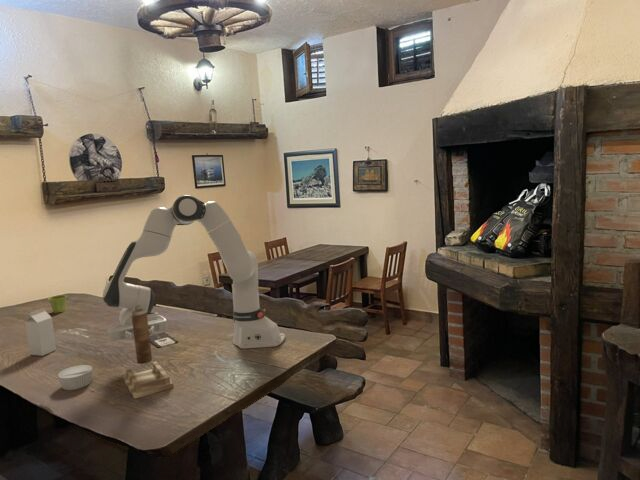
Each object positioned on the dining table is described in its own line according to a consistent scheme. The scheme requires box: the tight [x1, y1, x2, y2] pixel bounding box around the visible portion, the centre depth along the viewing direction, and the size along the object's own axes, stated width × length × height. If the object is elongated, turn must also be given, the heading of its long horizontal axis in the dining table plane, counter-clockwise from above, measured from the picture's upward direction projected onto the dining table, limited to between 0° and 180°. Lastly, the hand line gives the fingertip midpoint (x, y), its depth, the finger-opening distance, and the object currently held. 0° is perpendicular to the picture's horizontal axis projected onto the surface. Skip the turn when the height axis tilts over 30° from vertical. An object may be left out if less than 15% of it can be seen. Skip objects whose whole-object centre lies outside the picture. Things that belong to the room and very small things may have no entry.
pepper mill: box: [132, 305, 153, 365], centre depth 165 cm, size 5×5×20 cm
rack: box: [123, 361, 175, 399], centre depth 165 cm, size 18×13×4 cm
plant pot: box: [47, 294, 68, 314], centre depth 271 cm, size 9×9×9 cm
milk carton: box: [24, 307, 57, 357], centre depth 203 cm, size 7×7×19 cm
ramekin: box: [57, 364, 93, 391], centre depth 168 cm, size 11×11×5 cm
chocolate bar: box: [149, 331, 179, 349], centre depth 211 cm, size 9×1×18 cm
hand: (142, 334), depth 164 cm, fingers closed on pepper mill, 5 cm apart
